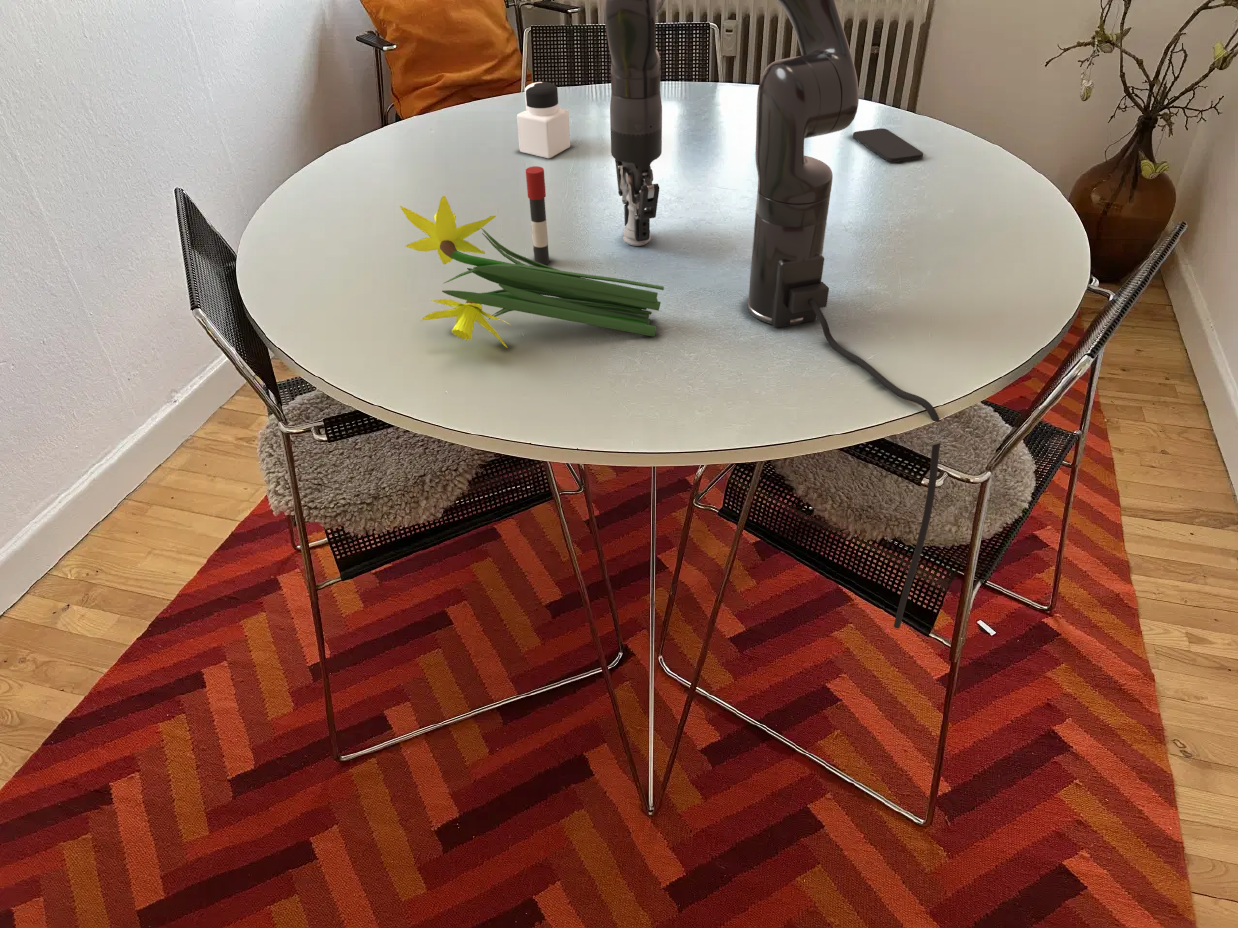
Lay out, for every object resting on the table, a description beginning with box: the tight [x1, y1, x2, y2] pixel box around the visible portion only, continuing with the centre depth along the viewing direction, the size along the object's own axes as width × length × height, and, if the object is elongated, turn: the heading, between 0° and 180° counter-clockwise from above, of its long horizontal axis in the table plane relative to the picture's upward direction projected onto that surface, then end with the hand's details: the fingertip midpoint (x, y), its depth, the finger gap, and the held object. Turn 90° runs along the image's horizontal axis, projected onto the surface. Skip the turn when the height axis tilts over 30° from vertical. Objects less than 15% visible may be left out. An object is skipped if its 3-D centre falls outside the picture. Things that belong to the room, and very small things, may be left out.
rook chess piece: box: [622, 192, 652, 247], centre depth 141 cm, size 4×4×8 cm
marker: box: [525, 165, 550, 266], centre depth 134 cm, size 3×3×14 cm
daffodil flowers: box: [399, 195, 665, 349], centre depth 119 cm, size 17×15×35 cm
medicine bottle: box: [516, 81, 571, 159], centre depth 171 cm, size 7×7×12 cm
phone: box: [852, 127, 924, 163], centre depth 172 cm, size 7×1×15 cm
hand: (636, 232), depth 143 cm, fingers closed on rook chess piece, 4 cm apart
